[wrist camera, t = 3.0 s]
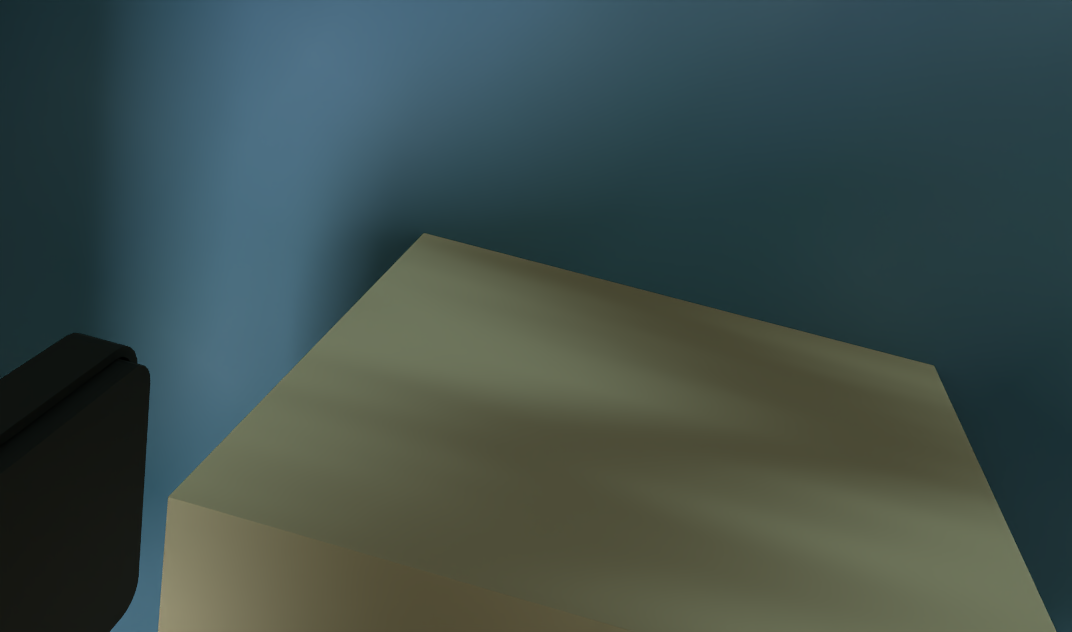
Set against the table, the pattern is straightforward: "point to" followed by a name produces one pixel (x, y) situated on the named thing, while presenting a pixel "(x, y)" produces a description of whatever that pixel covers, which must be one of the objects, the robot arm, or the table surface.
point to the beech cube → (588, 475)
